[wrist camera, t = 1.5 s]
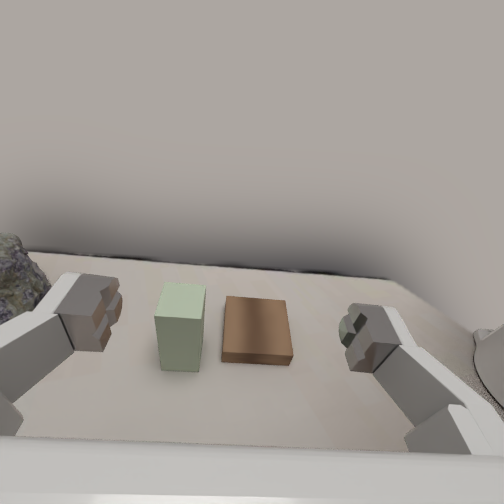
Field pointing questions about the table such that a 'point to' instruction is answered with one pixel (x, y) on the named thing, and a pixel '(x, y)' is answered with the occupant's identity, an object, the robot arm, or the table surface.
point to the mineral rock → (18, 279)
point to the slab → (256, 332)
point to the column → (180, 326)
